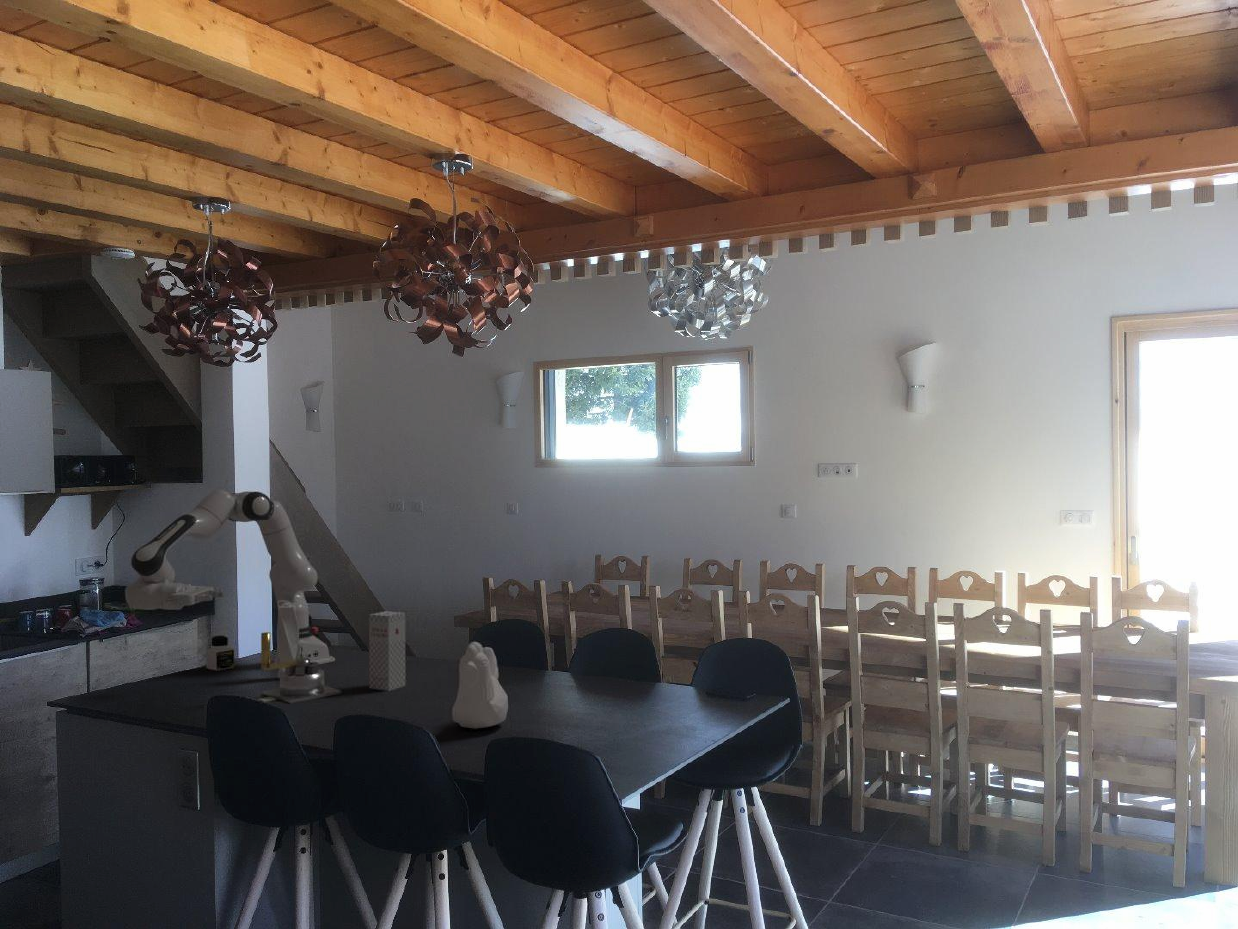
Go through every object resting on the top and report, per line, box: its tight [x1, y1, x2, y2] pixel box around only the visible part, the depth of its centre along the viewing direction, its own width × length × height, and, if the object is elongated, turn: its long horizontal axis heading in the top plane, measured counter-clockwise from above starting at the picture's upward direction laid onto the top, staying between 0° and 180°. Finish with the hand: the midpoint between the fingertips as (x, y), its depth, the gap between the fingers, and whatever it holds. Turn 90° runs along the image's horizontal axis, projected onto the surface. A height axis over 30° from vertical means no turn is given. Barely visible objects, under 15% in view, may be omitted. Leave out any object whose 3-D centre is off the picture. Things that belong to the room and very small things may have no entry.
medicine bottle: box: [206, 635, 235, 672], centre depth 366 cm, size 7×7×12 cm
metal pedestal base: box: [262, 668, 342, 704], centre depth 324 cm, size 18×18×7 cm
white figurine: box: [451, 641, 509, 729], centre depth 286 cm, size 25×16×25 cm, turn 159°
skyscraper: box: [276, 600, 304, 680], centre depth 349 cm, size 8×8×28 cm
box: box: [368, 610, 406, 692], centre depth 334 cm, size 8×8×25 cm
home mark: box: [258, 696, 277, 703], centre depth 316 cm, size 4×4×1 cm
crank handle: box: [260, 631, 320, 675], centre depth 322 cm, size 18×10×14 cm, turn 131°
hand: (217, 596), depth 329 cm, fingers open, 8 cm apart
